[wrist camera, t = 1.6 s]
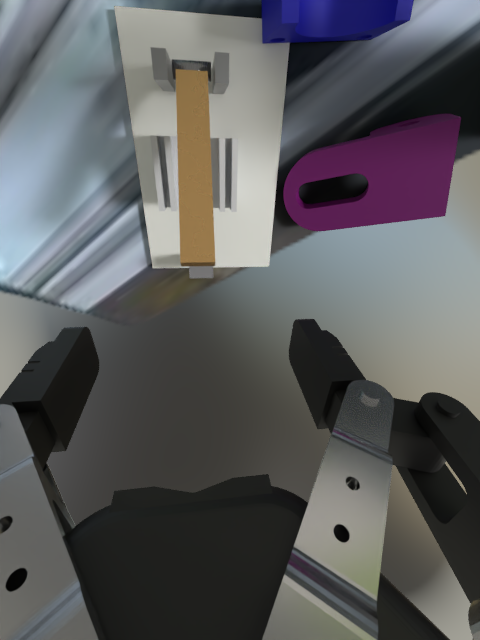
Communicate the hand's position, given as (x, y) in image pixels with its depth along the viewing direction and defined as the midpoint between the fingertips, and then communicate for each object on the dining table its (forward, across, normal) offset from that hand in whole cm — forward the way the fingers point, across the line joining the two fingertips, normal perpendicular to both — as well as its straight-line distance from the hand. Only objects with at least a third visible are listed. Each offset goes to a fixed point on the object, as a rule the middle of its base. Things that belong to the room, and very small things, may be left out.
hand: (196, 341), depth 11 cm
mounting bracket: (+31, -20, -3) cm, 37 cm away
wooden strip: (+19, 0, -5) cm, 20 cm away
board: (+30, -2, -4) cm, 31 cm away
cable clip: (+30, -13, -18) cm, 37 cm away
